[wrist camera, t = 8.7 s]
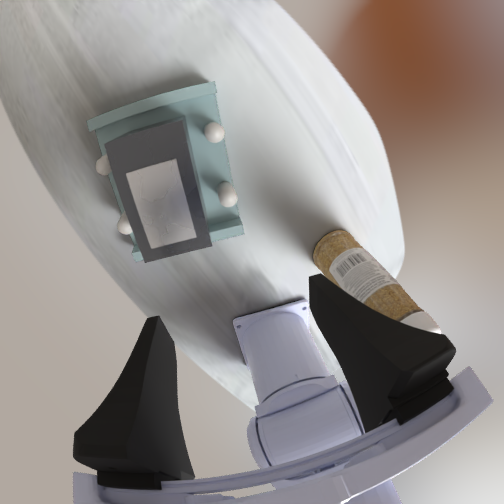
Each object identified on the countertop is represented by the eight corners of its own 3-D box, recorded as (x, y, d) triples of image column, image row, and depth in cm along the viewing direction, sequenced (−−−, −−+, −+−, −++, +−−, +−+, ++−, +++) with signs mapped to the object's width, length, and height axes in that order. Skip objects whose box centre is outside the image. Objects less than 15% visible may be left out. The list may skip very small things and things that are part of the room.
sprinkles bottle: (315, 275, 26) (384, 386, 15) (308, 237, 24) (394, 354, 13) (355, 259, 27) (434, 356, 15) (352, 221, 24) (451, 318, 13)
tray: (239, 222, 22) (246, 239, 19) (139, 248, 21) (134, 268, 19) (212, 83, 16) (215, 80, 13) (96, 118, 15) (81, 121, 13)
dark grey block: (205, 208, 20) (212, 246, 15) (154, 222, 19) (144, 263, 15) (185, 115, 16) (182, 119, 11) (128, 131, 15) (103, 144, 11)
